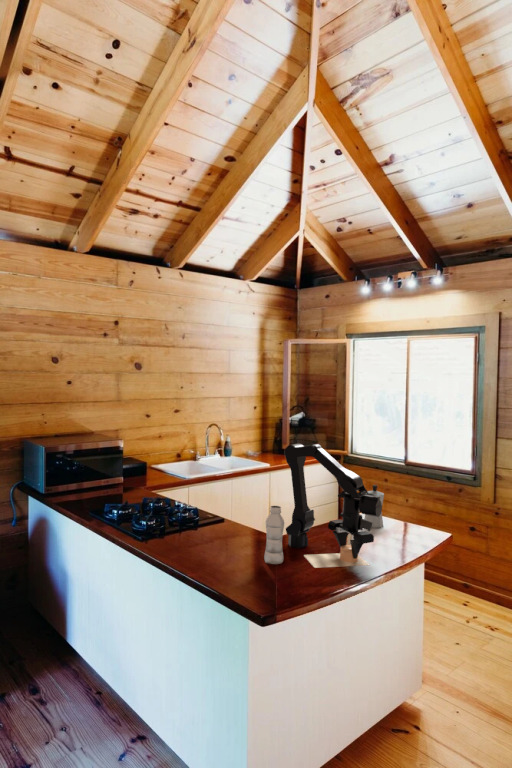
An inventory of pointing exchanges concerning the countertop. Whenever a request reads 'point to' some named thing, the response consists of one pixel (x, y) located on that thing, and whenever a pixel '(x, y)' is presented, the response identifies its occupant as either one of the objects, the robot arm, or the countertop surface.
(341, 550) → the cap
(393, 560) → the countertop surface
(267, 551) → the plastic bottle
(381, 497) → the coffee maker
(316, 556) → the board
